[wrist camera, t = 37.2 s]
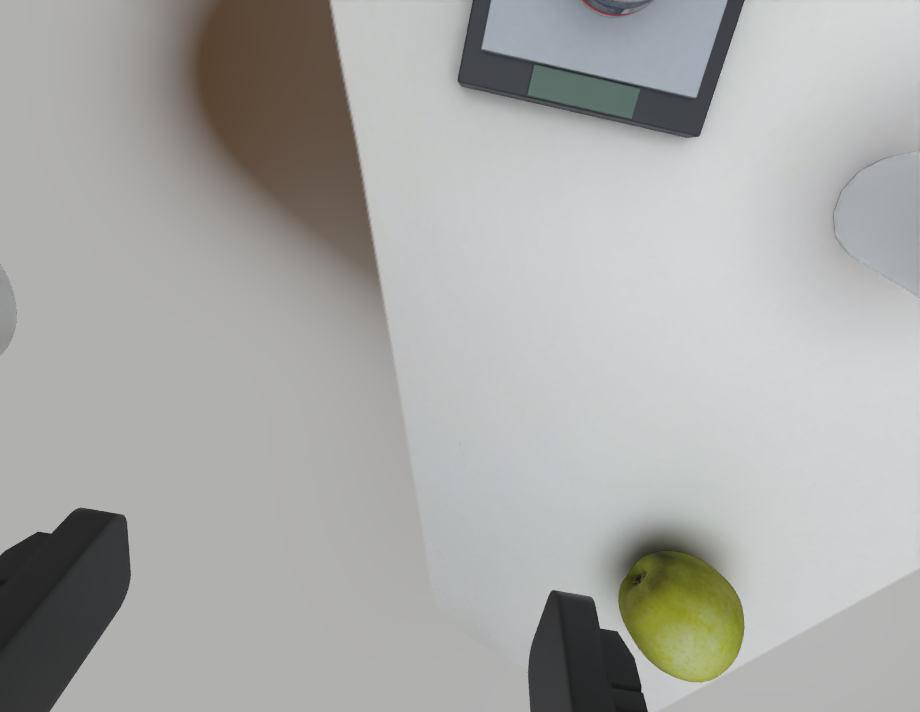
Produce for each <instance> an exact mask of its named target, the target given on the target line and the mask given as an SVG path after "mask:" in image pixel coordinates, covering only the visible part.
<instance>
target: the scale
mask: <svg viewBox="0 0 920 712" xmlns="http://www.w3.org/2000/svg"><path fill="white" fill-rule="evenodd" d="M743 3H744V0H654V1H653V2H651V3H650V4H649V5H648V6H646V7H645V8H644V9H642V10H640V11H638V12H636V13H634V14H632V15H628V16H624V17H607V16H603V15H600V14H598V13H595V12H594V11H592V10H590V9H589V8H588V7H587V6H585V5H584V4H583V3H582V2H581V0H473V3H472V9H471V14H470V19H469V24H468V29H467V34H466V39H465V45H464V50H463V55H462V60H461V65H460V70H459V75H458V82H459V84H460V85H461V86H463V87H467V88H471V89H476V90H480V91H485V92H489V93H493V94H498V95H502V96H507V97H511V98H515V99H520V100H524V101H528V102H533V103H537V104H542V105H546V106H550V107H555V108H559V109H564V110H568V111H572V112H577V113H581V114H586V115H590V116H594V117H599V118H603V119H607V120H612V121H616V122H621V123H625V124H629V125H634V126H638V127H643V128H647V129H651V130H656V131H660V132H665V133H669V134H673V135H678V136H682V137H699V136H700V133H701V130H702V127H703V124H704V121H705V118H706V115H707V112H708V109H709V106H710V103H711V100H712V97H713V94H714V91H715V88H716V85H717V82H718V79H719V76H720V73H721V70H722V67H723V64H724V61H725V58H726V55H727V52H728V49H729V46H730V42H731V39H732V36H733V33H734V30H735V27H736V24H737V21H738V18H739V15H740V12H741V9H742V6H743Z"/></svg>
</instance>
